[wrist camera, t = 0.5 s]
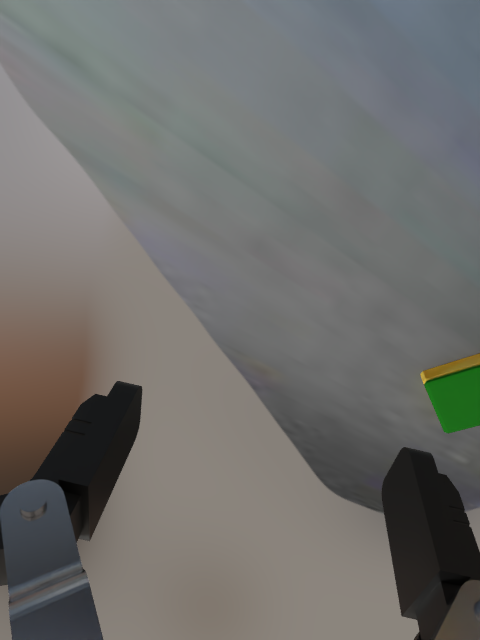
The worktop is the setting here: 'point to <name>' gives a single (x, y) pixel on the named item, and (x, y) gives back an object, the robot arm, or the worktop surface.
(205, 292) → the worktop surface
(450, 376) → the dish sponge
